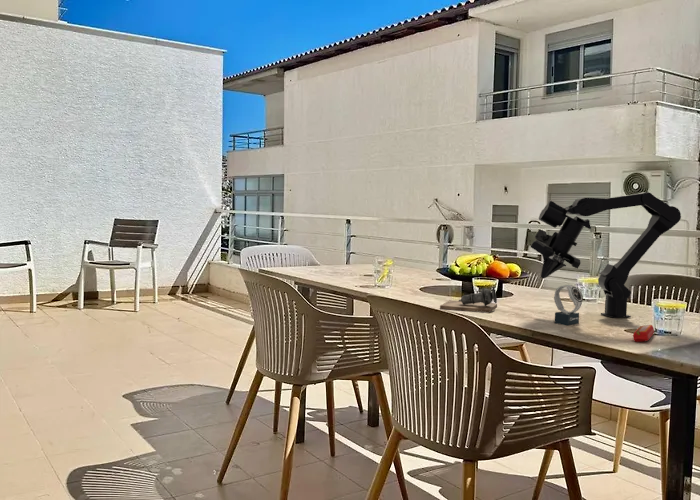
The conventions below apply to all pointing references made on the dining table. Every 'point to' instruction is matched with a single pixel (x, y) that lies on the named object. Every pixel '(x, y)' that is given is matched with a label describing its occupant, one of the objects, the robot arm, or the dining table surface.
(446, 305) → the walnut board
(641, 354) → the dining table surface
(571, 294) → the watch
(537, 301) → the dining table surface
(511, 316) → the dining table surface
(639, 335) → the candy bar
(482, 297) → the dark grey tall piece
